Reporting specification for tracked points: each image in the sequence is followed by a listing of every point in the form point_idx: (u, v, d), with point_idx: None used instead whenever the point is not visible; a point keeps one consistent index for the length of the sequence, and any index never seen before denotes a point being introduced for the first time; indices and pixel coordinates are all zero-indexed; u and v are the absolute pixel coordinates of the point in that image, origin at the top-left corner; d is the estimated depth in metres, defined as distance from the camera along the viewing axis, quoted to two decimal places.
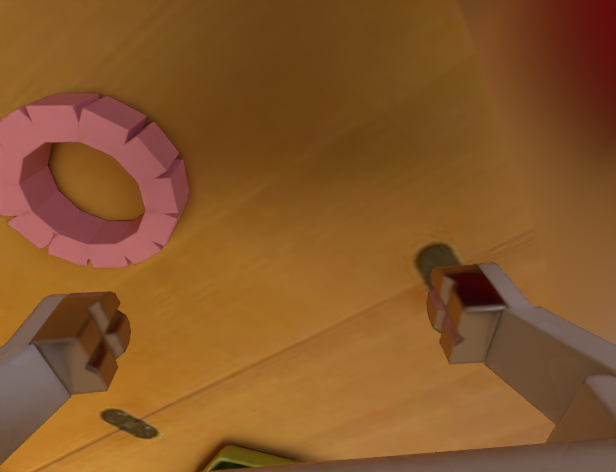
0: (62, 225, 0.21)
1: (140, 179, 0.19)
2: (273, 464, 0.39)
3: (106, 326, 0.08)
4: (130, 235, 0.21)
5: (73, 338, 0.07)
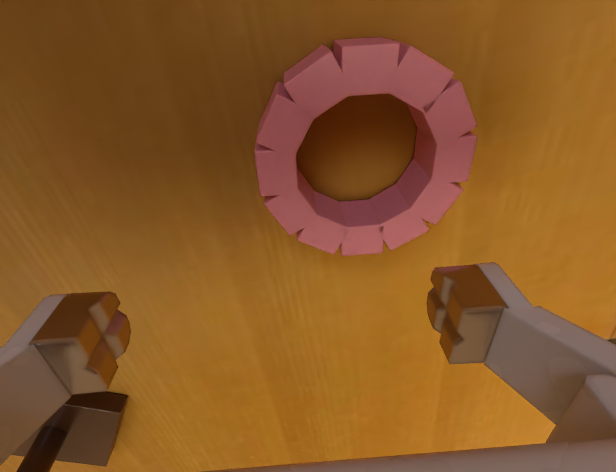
0: (375, 217, 0.18)
1: (387, 86, 0.14)
2: None
3: (106, 326, 0.08)
4: (434, 156, 0.16)
5: (73, 338, 0.07)
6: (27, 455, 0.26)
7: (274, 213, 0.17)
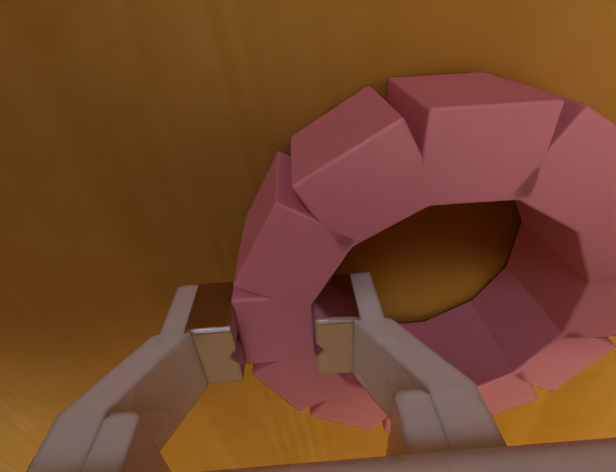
0: None
1: (517, 187, 0.06)
2: None
3: None
4: (578, 299, 0.08)
5: (227, 327, 0.07)
6: None
7: (271, 385, 0.09)
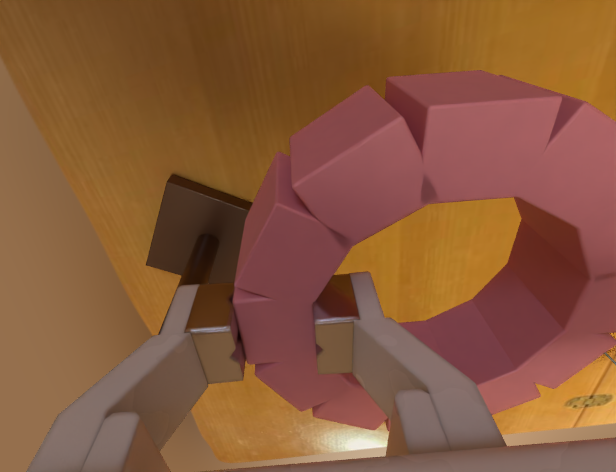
0: None
1: (517, 184, 0.06)
2: None
3: None
4: (579, 296, 0.08)
5: (228, 327, 0.07)
6: (195, 248, 0.29)
7: (273, 385, 0.09)
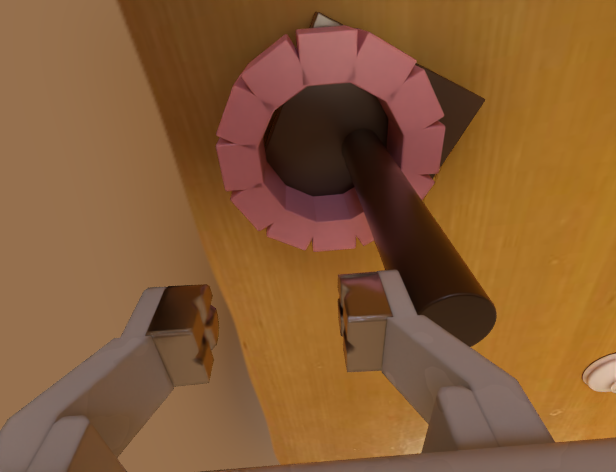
0: (347, 212, 0.18)
1: (348, 75, 0.14)
2: None
3: (205, 319, 0.08)
4: (402, 147, 0.15)
5: (189, 330, 0.07)
6: (360, 144, 0.16)
7: (241, 208, 0.17)
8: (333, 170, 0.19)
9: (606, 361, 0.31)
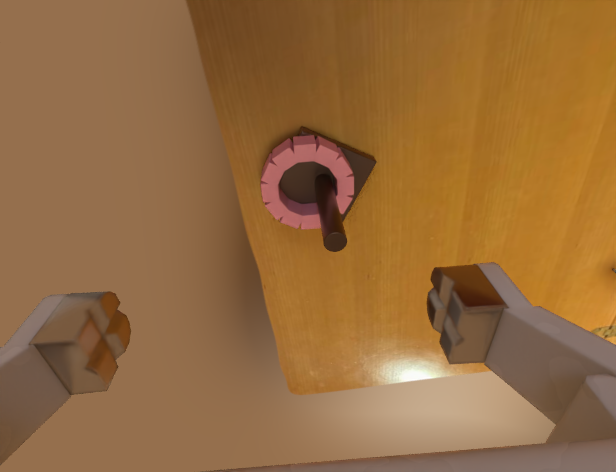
0: (316, 211, 0.40)
1: (313, 158, 0.35)
2: None
3: (106, 326, 0.08)
4: (337, 184, 0.37)
5: (74, 338, 0.07)
6: (320, 183, 0.38)
7: (269, 209, 0.38)
8: (310, 192, 0.40)
9: None
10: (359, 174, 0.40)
